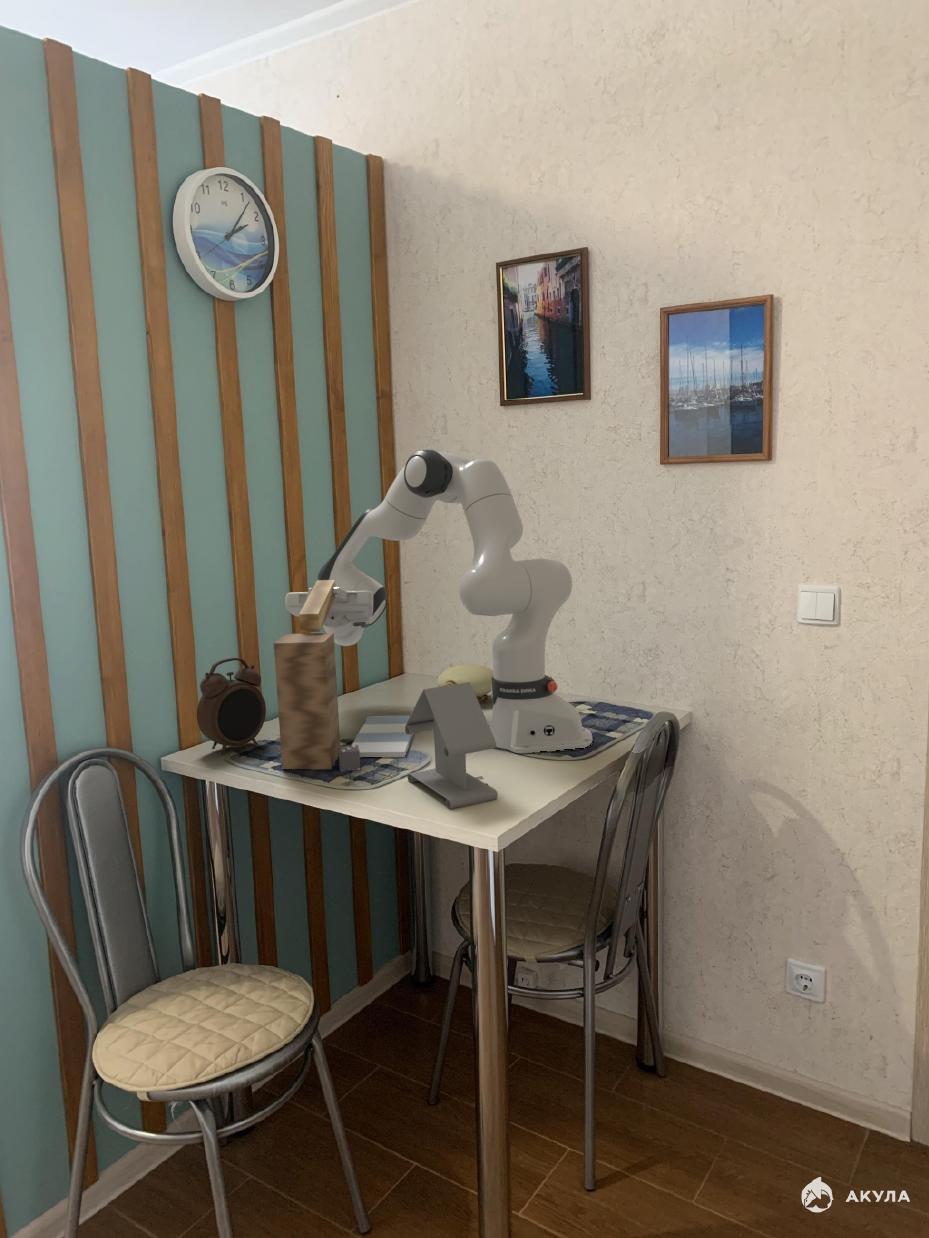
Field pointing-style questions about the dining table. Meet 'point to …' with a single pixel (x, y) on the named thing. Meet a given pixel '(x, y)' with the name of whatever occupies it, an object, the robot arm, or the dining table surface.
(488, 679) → the flask
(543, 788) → the dining table surface
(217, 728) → the alarm clock
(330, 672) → the walnut stand
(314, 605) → the light wooden block
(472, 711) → the phone stand
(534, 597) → the robot arm
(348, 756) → the die
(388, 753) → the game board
